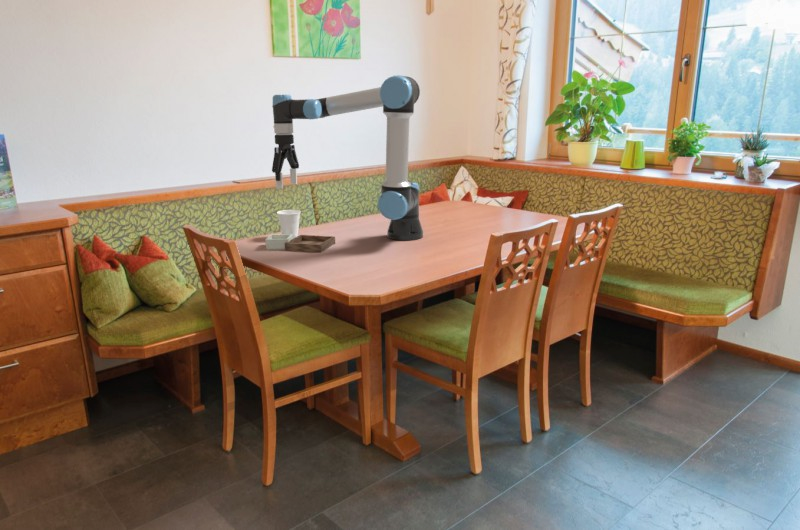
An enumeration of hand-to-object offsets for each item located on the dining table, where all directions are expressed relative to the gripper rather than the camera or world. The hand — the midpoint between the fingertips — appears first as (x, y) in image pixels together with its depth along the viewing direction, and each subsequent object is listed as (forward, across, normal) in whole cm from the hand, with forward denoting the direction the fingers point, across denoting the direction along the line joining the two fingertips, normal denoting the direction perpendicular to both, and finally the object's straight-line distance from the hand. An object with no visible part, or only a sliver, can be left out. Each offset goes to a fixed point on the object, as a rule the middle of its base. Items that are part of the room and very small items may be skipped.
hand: (287, 186), depth 251 cm
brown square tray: (+22, +13, +15) cm, 29 cm away
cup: (+22, 0, 0) cm, 22 cm away
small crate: (+22, +16, +3) cm, 27 cm away
